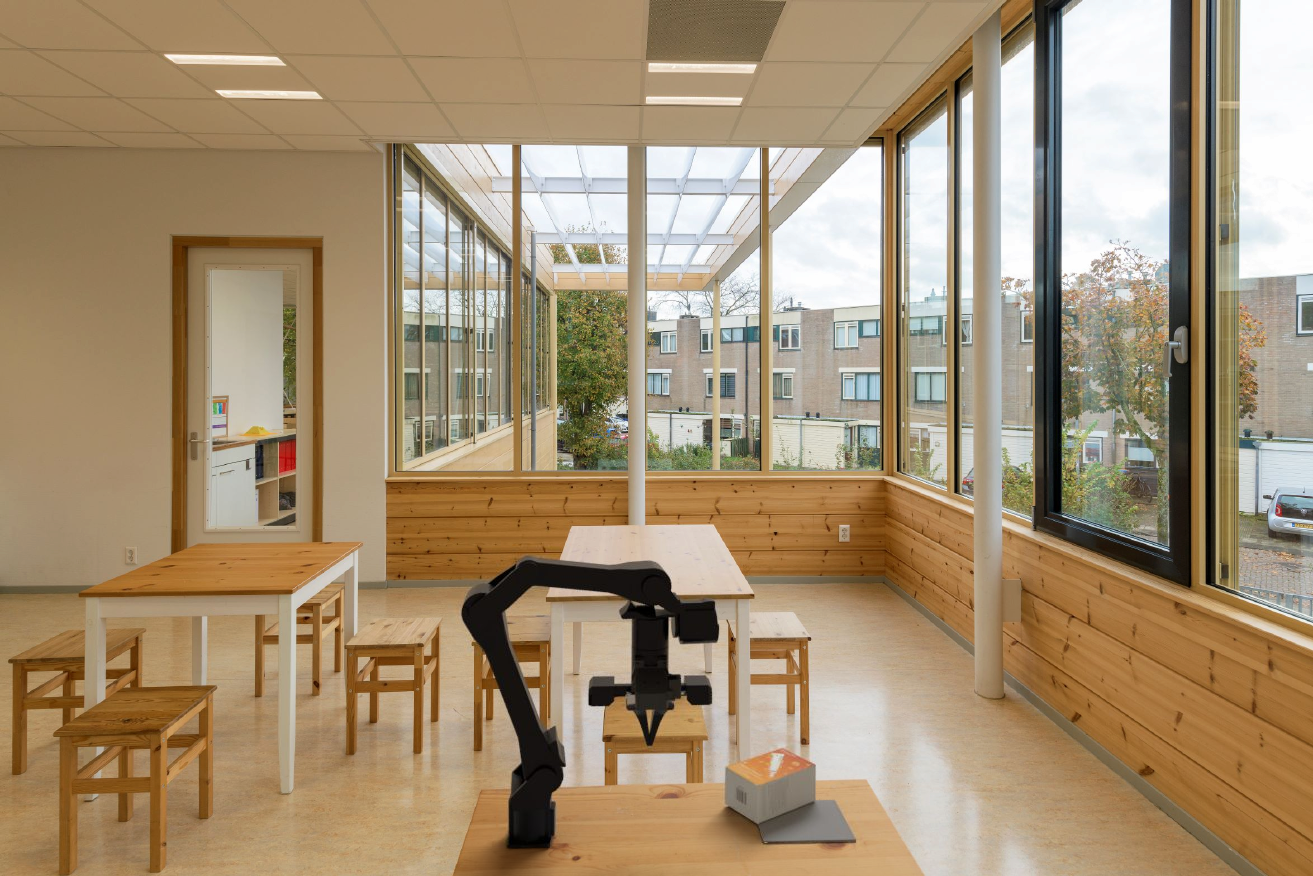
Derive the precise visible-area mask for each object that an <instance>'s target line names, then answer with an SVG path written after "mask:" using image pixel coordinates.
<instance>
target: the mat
mask: <svg viewBox="0 0 1313 876" xmlns="http://www.w3.org/2000/svg"><path fill="white" fill-rule="evenodd" d="M758 826H759V827H758ZM757 827H758V829H760V830H759V833H760V832H761V833H760V836H761V835H762V837H761V839H763V840H762V842H779V843H778V844H782V843H781V842H784V843H785V844H787V843H789V844H790V843H793V844H795V843H798V844H799V843H839V842H840V843H844V842H847V843H849V842H850V843H851V842H857V838H856V836H855V835H854V833H853V830H852V829H851V827H850V826H849V824H848V822H847V819H846V818H845V816H844V815H843V813H842V811H841V809H840V807H839V805H838V804H837V801H836V800H835V799H816V800H815V801H813V802H811V803H808V804H806V805H803V806H801V807H799V808H796V809H794V810H791V811H789V812H786V813H784V814H781V815H779V816H776V817H774V818H771V819H769V820H766V821H764V822H762V823H759V824H757ZM784 843H783V844H784Z"/></svg>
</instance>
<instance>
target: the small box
mask: <svg viewBox="0 0 1313 876" xmlns="http://www.w3.org/2000/svg"><path fill="white" fill-rule="evenodd" d="M816 769H817V767H816V764H815V763H813V762H812V761H809V760H807V759H806V758H803V757H801V756H799V755H797V754H795V753H793V752H792V751H789V750H787V749H786V748H784V747H783V748H782V747H781V748H778V749H775V750H772V751H769V752H766V753H763V754H761V755H757V756H754V757H752V758H748V759H746V760H741V761H739V762H736V763H733V764H729V765H727V766H725V769H724V771H725V772H724V805H726V806H728V807H730V808H731V809H733V810H734V811H736V812H737V813H738V814H741V815H743V816H744V817H746V818H747V819H749V820H751V821H752V822H754V824H756V825H758V824H759V823H762V822H764V821H766V820H769V819H771V818H774V817H776V816H779V815H781V814H784V813H786V812H789V811H791V810H794V809H796V808H799V807H801V806H803V805H806V804H808V803H811V802H813V801H815V800H817V799H816V798H817V797H816V789H817V788H816V785H817V784H816V781H817V780H816V779H817V778H816V776H817V771H816Z"/></svg>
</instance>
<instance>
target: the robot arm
mask: <svg viewBox="0 0 1313 876" xmlns="http://www.w3.org/2000/svg"><path fill="white" fill-rule="evenodd" d="M532 587H543V588H554V589H565V590H575V591H576V590H577V591H583V592H584V591H585V592H587V591H588V592H597V593H606V594H607V593H608V594H611V595H615V596H618V597H621V598H622V599H625V600H627V601H626V603H625V604H624V605H623V606H622V607H621V608H619V609H618V613H619V615H620V618H621V620H631V650H630V651H631V653H630V654H631V658H630V659H631V666H630V669H631V675H630V680H631V681H630V683H615V675H609V676H608V675H606V676H605V675H603V676H602V675H601V676H600V675H599V676H598V675H597V676H594V675H593V676H592V677H591V678H590V679H589V682H588V693H587V698H588V699H587V704H588V705H587V706H589V707H610V706H611V705H612V704H613V703H614V702H615V698H619V697H620V698H623V697H625V709H626V710H627V711H629V712H633V713H634V714H635V716H636V719H637V720H638V723H639V725H640V729H641V731H642V735H643V738H644V741H645V744H646V747H653V746H654V745H653V744H654V742H655V739H656V736H657V733H658V730H659V728H660V724H661V722H662V720H663V718H664V716H665V715H666V713H667V712H668V711H673V710H675V701H676V700H680V699H682V697H686V702H688V703H689V704H690V706H710V705H712V704H713V689H712V688H713V687H712V683H711V681H710V678H708V676H707V675H705V674H702V675H701V674H699V675H693V674H691V675H689V674H688V675H686V674H685V675H683V682H682V675H681V673H680V674H679V673H670V671H669V668H670V667H669V665H670V664H669V658H670V657H669V656H670V655H669V654H670V652H669V651H670V648H669V646H670V641H669V639H670V634H669V633H670V631H671V636H672V638H673V639H677V638H678V643H679V644H680V645H698V644H699V645H701V644H702V645H703V644H717V643H718V640H719V636H720V624H719V621H718V614H717V610H716V601H715V600H714V599H713V598H712V597H704V598H698V599H680V597H679V596H678V595H677V593H676V591H674V592H673V591H672V589H673V588H672V580H671V578H670V576H669V574H668V573H667V572H666V571H665V569H664V568H663V567H662V565H660V563H658V562H657V561H653V560H638V561H637V560H636V561H626V562H622V563H616V564H605V563H603V564H602V563H593V562H584V561H576V560H575V561H574V560H562V559H553V558H544V557H543V558H542V557H537V556H534V555H531V554H529V555H524V556H522V557H521V558H520V559H518V560H517V561H516V562H515V563H514V564H513V565H511V566H510V567H508V568H506V569H505V570H504V571H502V572H501V573H499V574H498V575H496V576H495V577H493V578H492V579H491V580H489V582H487V583H477V584H476V585H474V586H472V587H471V588H470V589H469V590H468V592H467V594H466V595H465V597H464V601H463V603H462V606H461V612H460V616H461V620H462V622H463V624H464V626H465V627H466V628H467V631H468V632H469V634H470V635H471V637H472V638H473V640H474V641H475V642H476V644H477V645H478V646H479V647H480V649H481V650H482V651H483V652H484V654H485V656H486V658H487V661H488V664H489V667H490V668H491V671H492V674H493V676H494V677H493V678H494V680H495V682H496V684H497V686H498V690H499V693H500V695H501V698H502V700H503V703H504V706H505V709H506V711H507V714H508V716H509V719H510V721H511V724H512V726H513V729H514V731H515V734H516V737H517V742H518V747H519V748H518V749H519V756H520V763H519V764H518V765H517V766H516V767H515V768H514V770H512V772H511V777H510V779H511V780H510V794H509V797H508V805H507V806H508V808H507V809H508V813H507V814H508V815H507V816H508V817H507V819H508V825H507V826H508V831H507V832H508V835H507V839H506V842H505V843H506V845H505V846H506V847H505V848H508V849H509V848H510V849H511V848H513V849H514V848H515V849H517V848H549V847H550V846H551V844H552V839H553V838H552V837H555V835H556V828H557V803H556V801H555V800H554V801H553V793H555V792H556V791H557V790H559V788H560V787H561V786H562V783H563V781H564V775H565V774H564V768H566V766H567V764H566V752H565V746H564V744H562V743H561V740H560V739H559V736H558V730H557V726H556V725H553V726H552V727H550V728H547V727H546V726H545V725H544V723H543V722H542V720H541V719H540V716H539V713H538V710H537V708H536V705H535V703H534V700H533V698H532V694H531V692H530V690H529V687H528V683H527V682H526V679H525V676H524V674H523V672H522V668H521V666H520V663H519V661H518V658H517V655H516V652H515V649H514V647H513V644H512V641H511V639H510V633H509V625H508V620H507V619H508V618H507V613H506V610H508V609H509V608H511V606H512V605H514V604H515V603H516V602H517V601H518V600H519V599H520V598H521V597H522V596H523V595H524V594H526V592H527V591H528V590H530V589H531V588H532ZM634 602H635V603H638V604H635V603H634ZM655 606H656V607H657V606H659V607H660V608H655ZM669 628H670V629H669ZM648 710H649V711H651V715H650V716H651V717H650V723H649V719H648V714H647V713H648Z"/></svg>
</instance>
